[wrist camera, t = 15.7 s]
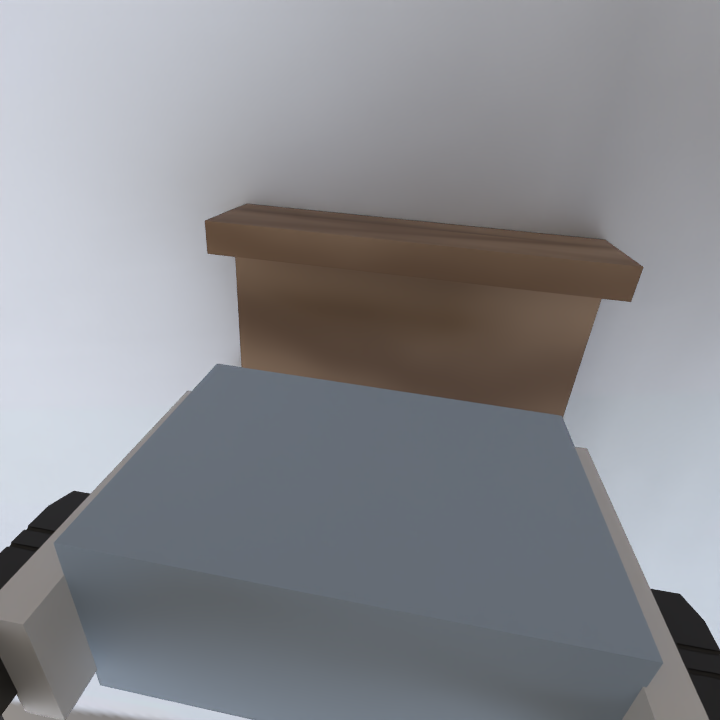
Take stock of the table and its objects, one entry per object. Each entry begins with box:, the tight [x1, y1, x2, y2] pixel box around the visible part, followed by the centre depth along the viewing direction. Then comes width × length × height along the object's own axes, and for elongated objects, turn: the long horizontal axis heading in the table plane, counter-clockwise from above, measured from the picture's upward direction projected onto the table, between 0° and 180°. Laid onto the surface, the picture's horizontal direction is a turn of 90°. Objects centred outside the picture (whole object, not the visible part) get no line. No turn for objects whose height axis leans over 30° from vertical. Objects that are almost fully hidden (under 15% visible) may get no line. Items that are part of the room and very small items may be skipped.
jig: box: [205, 204, 643, 417], centre depth 23 cm, size 24×15×4 cm, turn 176°
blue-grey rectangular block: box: [54, 364, 663, 720], centre depth 10 cm, size 9×4×6 cm, turn 85°
